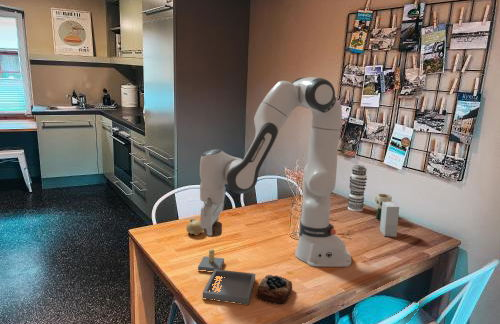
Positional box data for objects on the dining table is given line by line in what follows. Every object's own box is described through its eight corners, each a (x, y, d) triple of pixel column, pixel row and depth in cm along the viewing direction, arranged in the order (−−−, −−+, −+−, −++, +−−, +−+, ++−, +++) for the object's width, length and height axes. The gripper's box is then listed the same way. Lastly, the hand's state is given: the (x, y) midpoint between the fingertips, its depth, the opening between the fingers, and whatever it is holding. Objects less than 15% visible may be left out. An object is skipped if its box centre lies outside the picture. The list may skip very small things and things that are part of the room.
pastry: (252, 300, 117) (253, 283, 116) (263, 281, 128) (264, 266, 127) (285, 308, 114) (286, 291, 112) (294, 288, 125) (295, 272, 123)
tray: (255, 280, 128) (255, 273, 128) (248, 305, 114) (248, 298, 113) (214, 275, 131) (214, 269, 130) (202, 299, 116) (202, 292, 115)
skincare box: (396, 237, 169) (400, 207, 165) (383, 236, 169) (387, 206, 166) (391, 230, 177) (394, 201, 174) (378, 229, 177) (382, 200, 174)
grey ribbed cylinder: (366, 208, 206) (371, 166, 200) (358, 212, 199) (363, 168, 194) (351, 204, 212) (356, 163, 206) (344, 208, 205) (348, 165, 200)
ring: (223, 230, 136) (223, 221, 135) (219, 237, 130) (219, 228, 129) (206, 229, 137) (206, 220, 136) (202, 236, 131) (201, 227, 130)
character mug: (369, 216, 194) (371, 193, 191) (377, 214, 197) (380, 191, 195) (385, 223, 185) (388, 199, 182) (394, 221, 188) (397, 197, 186)
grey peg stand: (224, 263, 139) (224, 246, 138) (219, 273, 132) (219, 256, 130) (204, 260, 141) (204, 244, 139) (198, 271, 133) (198, 254, 131)
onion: (202, 229, 170) (202, 215, 169) (205, 236, 163) (205, 221, 161) (185, 231, 168) (185, 216, 166) (187, 238, 160) (187, 223, 159)
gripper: (213, 204, 119) (214, 243, 122) (226, 187, 139) (226, 220, 142) (195, 203, 120) (196, 241, 123) (211, 186, 140) (211, 219, 143)
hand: (212, 230), depth 133 cm, fingers closed on ring, 6 cm apart
